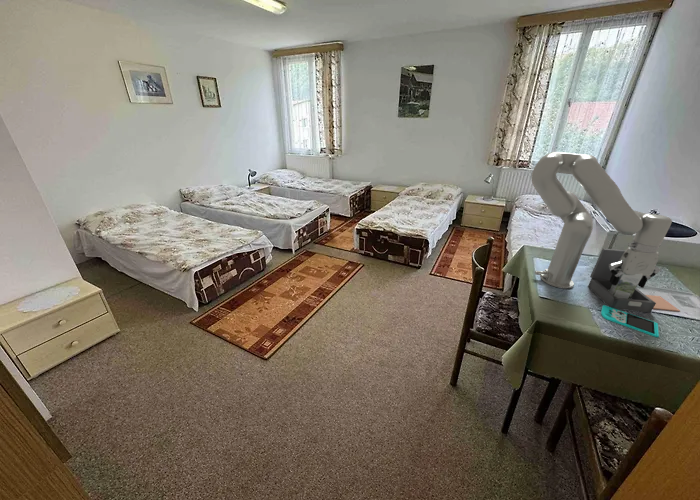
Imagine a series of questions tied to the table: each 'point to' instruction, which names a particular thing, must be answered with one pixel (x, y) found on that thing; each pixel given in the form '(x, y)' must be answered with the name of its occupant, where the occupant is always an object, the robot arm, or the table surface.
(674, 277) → the table surface
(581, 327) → the table surface
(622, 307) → the case
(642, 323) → the handheld game console
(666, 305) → the rubber mat
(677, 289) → the table surface
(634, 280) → the syrup box
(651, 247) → the robot arm
